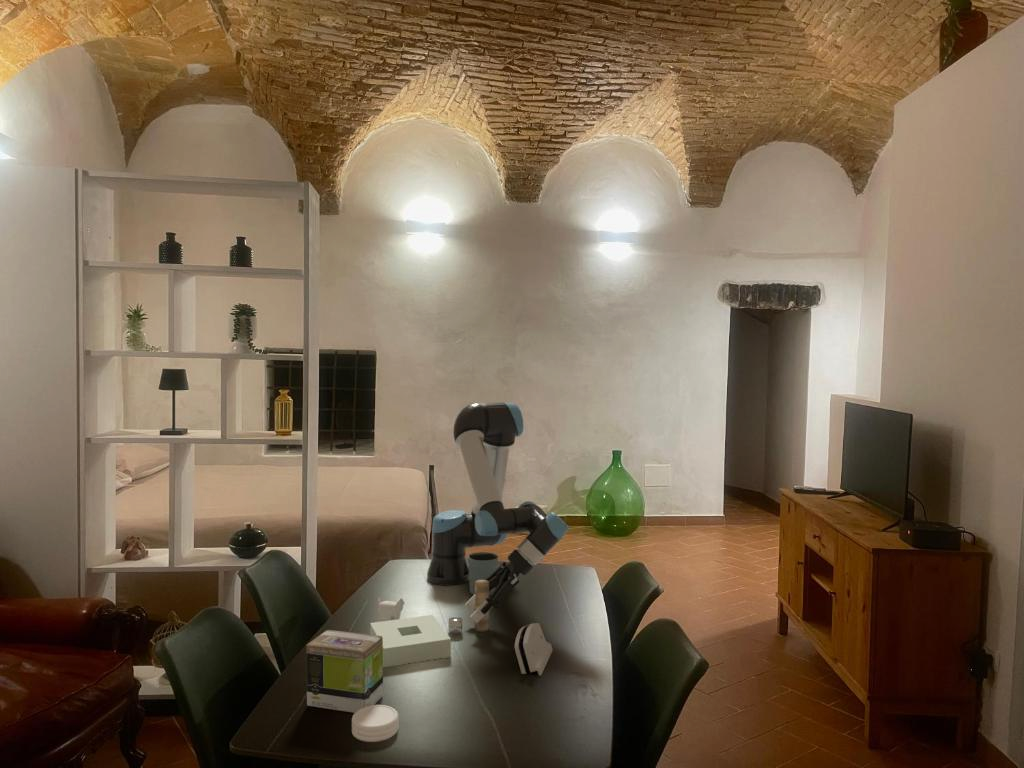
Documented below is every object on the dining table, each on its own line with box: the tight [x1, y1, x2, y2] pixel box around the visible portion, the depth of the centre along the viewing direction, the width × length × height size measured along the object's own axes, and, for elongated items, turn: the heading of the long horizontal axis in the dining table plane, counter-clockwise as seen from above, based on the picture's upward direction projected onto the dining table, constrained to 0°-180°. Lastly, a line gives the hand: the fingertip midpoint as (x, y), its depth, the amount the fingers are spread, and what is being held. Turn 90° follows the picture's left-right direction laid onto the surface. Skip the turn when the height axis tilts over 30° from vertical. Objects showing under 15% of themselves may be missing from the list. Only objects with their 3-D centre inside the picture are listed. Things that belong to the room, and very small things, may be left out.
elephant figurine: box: [376, 595, 405, 622], centre depth 220 cm, size 8×10×7 cm
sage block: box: [369, 614, 452, 668], centre depth 201 cm, size 18×18×5 cm
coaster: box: [351, 704, 400, 743], centre depth 160 cm, size 10×10×4 cm
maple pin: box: [474, 580, 490, 633], centre depth 215 cm, size 4×4×14 cm
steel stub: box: [447, 616, 463, 637], centre depth 213 cm, size 4×4×4 cm
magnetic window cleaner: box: [514, 622, 554, 676], centre depth 195 cm, size 17×5×10 cm, turn 166°
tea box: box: [305, 629, 384, 714], centre depth 172 cm, size 15×10×15 cm
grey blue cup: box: [467, 551, 499, 596], centre depth 247 cm, size 10×10×12 cm
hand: (470, 613), depth 215 cm, fingers open, 9 cm apart
